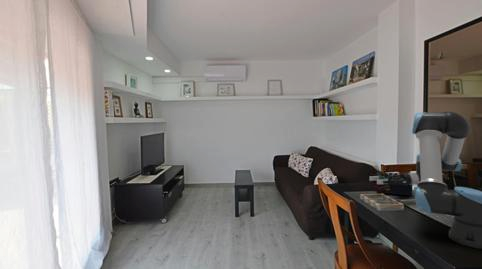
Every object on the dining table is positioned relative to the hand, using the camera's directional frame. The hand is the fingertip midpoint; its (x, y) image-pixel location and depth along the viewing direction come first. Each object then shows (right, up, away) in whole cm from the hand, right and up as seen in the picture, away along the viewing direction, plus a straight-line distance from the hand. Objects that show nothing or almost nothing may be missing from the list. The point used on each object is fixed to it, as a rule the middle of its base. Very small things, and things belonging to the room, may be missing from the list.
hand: (373, 180), depth 161 cm
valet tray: (+5, -16, +1) cm, 17 cm away
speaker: (+27, -14, +23) cm, 38 cm away
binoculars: (+5, -6, 0) cm, 8 cm away
